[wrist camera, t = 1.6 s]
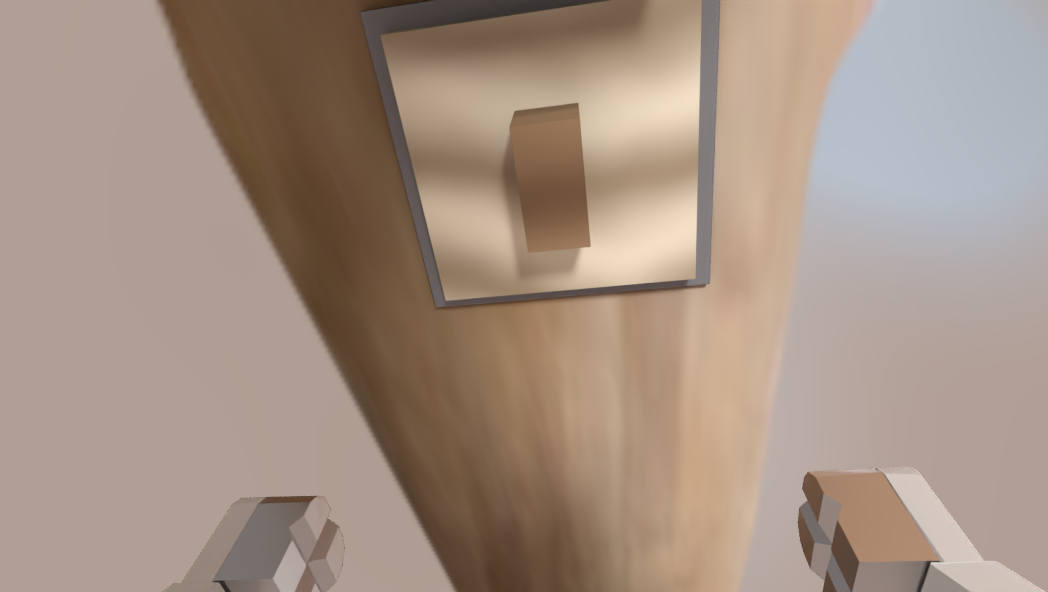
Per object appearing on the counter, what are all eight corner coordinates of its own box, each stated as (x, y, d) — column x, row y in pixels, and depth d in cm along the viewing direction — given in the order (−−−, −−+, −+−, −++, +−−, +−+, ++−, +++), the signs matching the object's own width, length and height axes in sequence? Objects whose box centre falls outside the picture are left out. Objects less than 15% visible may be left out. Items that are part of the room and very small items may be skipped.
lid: (386, 33, 25) (359, 43, 22) (697, -15, 24) (719, -11, 20) (448, 291, 33) (435, 330, 29) (691, 270, 31) (707, 308, 27)
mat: (362, 11, 25) (359, 12, 25) (719, -45, 23) (721, -45, 23) (437, 304, 33) (436, 307, 33) (708, 280, 32) (709, 283, 31)
